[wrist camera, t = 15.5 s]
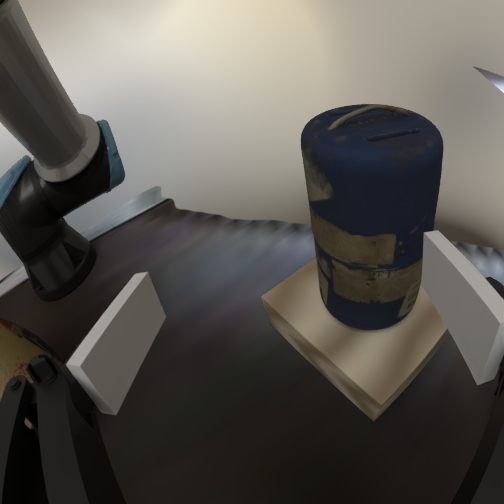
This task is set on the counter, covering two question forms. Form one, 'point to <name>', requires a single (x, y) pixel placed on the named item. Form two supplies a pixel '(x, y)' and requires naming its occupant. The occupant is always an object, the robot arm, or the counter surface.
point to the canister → (371, 208)
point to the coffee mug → (500, 376)
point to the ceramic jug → (19, 353)
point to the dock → (355, 341)
